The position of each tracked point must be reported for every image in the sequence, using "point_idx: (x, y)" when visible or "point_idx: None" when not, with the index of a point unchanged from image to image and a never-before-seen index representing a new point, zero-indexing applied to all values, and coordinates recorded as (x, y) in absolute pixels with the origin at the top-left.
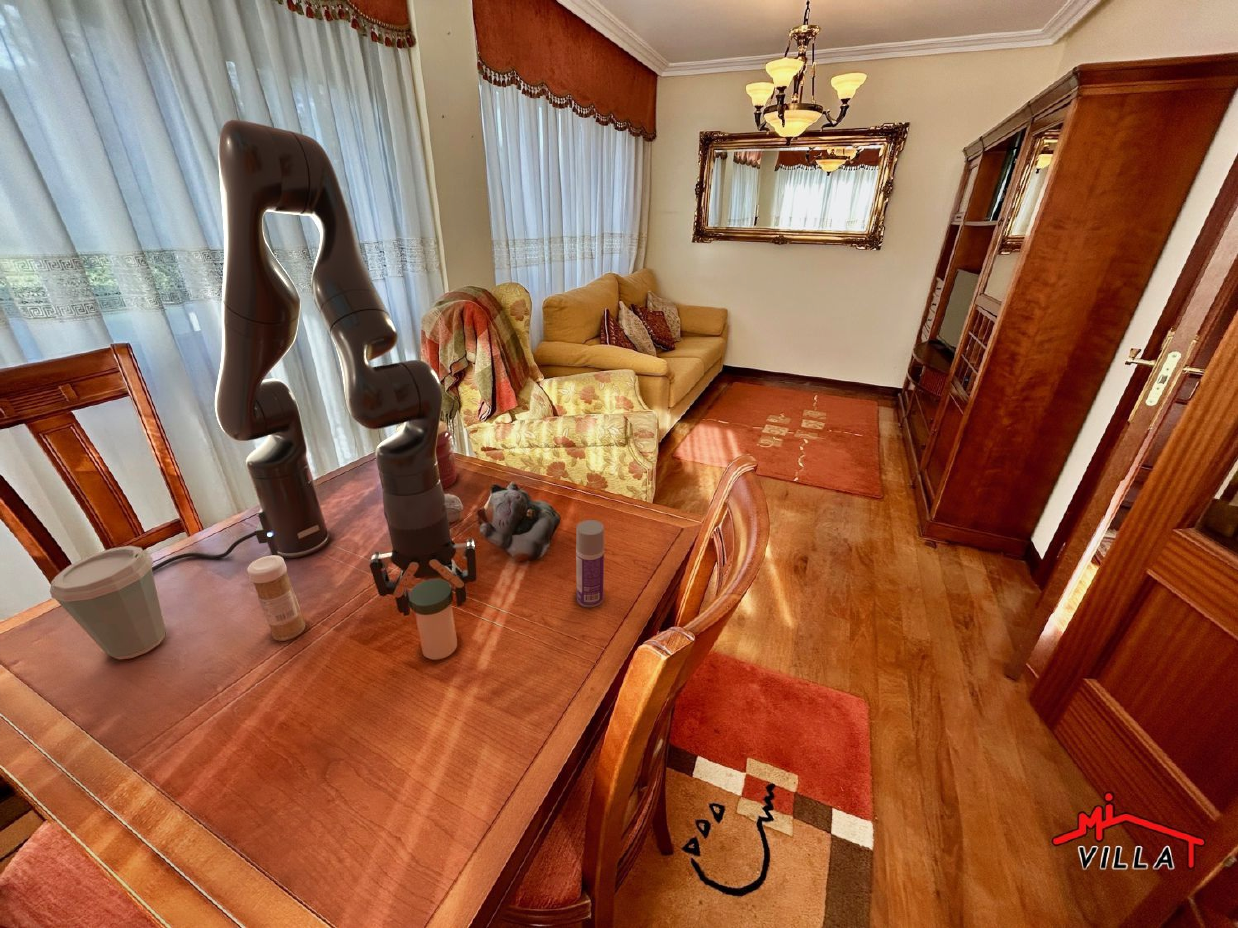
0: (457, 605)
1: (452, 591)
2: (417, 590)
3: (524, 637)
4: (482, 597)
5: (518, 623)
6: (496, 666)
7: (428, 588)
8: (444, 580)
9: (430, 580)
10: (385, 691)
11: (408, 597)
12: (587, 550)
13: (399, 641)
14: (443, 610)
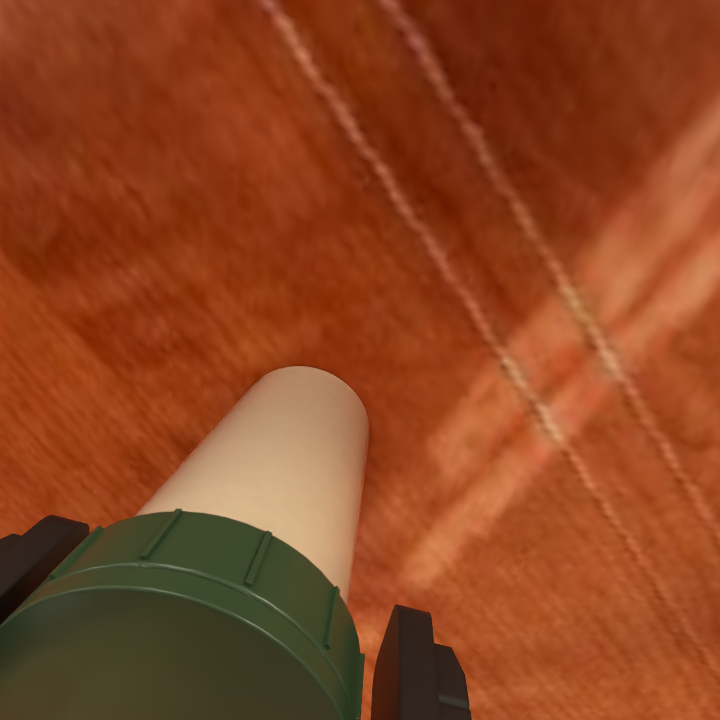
0: (372, 695)
1: (361, 684)
2: (45, 680)
3: (608, 535)
4: (563, 214)
5: (627, 461)
6: (459, 596)
7: (145, 698)
8: (305, 680)
9: (168, 617)
10: (118, 521)
11: (15, 593)
12: None
13: (159, 327)
14: None
